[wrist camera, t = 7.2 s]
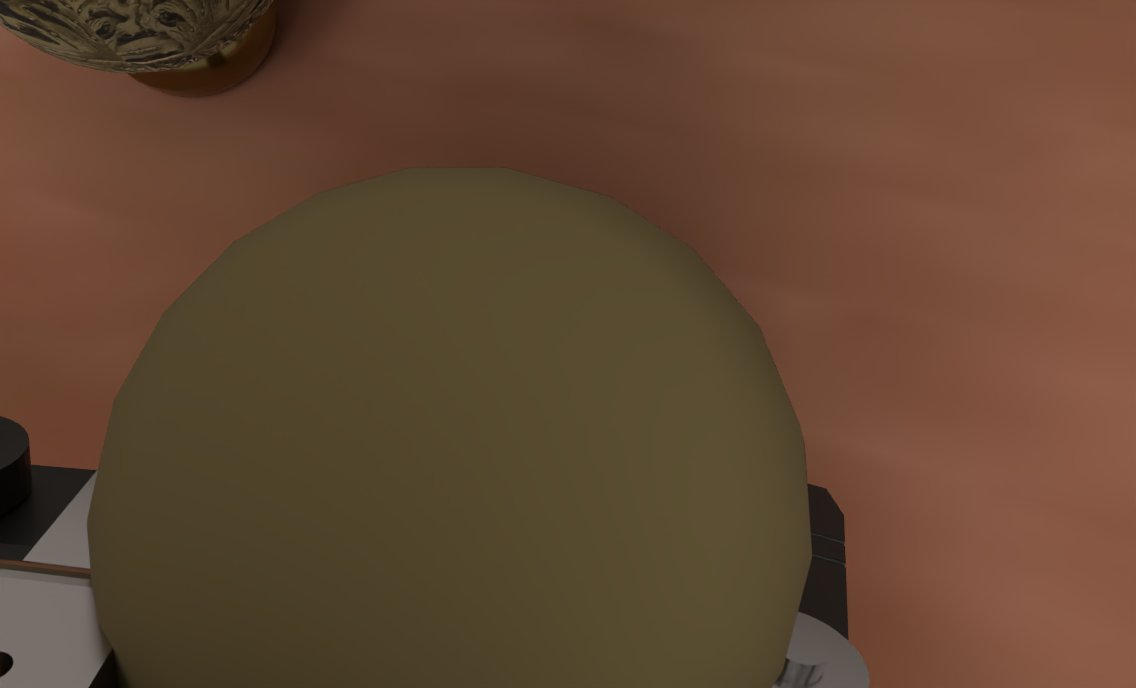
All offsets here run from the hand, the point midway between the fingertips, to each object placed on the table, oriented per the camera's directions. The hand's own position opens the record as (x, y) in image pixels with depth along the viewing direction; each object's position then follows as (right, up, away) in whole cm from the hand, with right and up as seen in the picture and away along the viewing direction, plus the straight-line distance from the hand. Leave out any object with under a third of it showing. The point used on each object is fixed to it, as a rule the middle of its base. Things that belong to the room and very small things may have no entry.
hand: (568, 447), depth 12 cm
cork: (0, -3, +4) cm, 5 cm away
